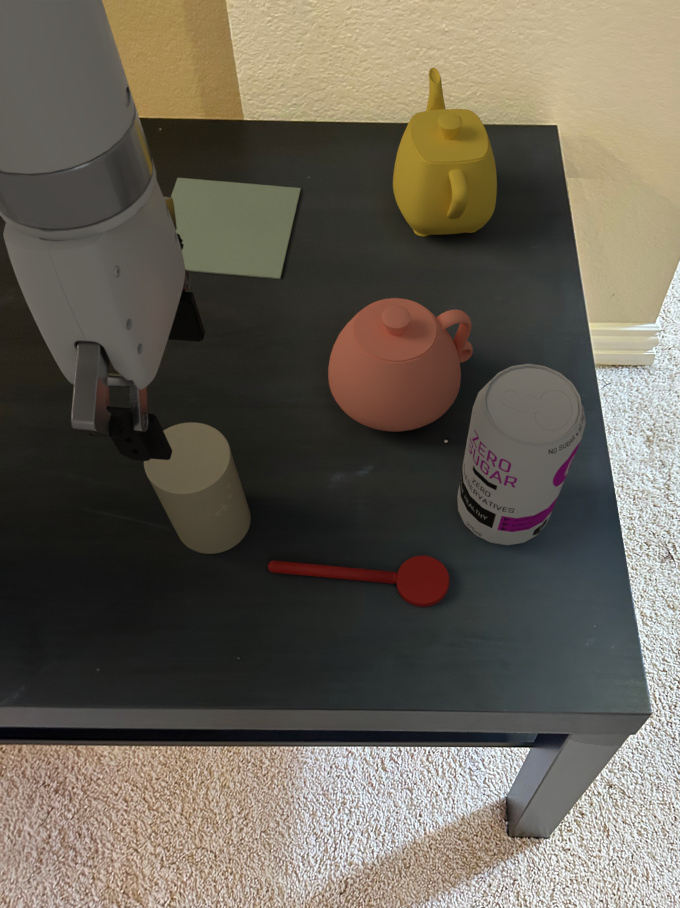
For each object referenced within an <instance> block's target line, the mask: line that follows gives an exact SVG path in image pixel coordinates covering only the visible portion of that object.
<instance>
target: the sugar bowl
mask: <svg viewBox="0 0 680 908" xmlns="http://www.w3.org/2000/svg"><path fill="white" fill-rule="evenodd" d="M457 324H459V325H458V328H457V330H456V332H455V334H454V337H453V338H452V336H451V334H450V333H449V331H448V328H450V327H451V326H454V325H457ZM472 326H473V325H472V320H471V317H470V316H469V315H468V313H466V312H465V311H463V310H461V309H449V310H446V311H444V312H442V313H440V314H439V315H437V316H436V315H434V313H433V312H431V311H430V310H429V309H428V308H426V307H425V306H423V304H420V303H419V302H417V301H414V300H410V299H407V298H400V297H390V298H383V299H380V300H377V301H373V302H371V303H370V304H368V305H366V306H364V307H363V308H362V309H361V310H359V311H357V313H356V314H355V315H353V316H352V318H351V319H350V320H349V321H348V322H347V323H346V324H345V326H344V327H343V328H342V330H341V331H340V332H339V334H338V336H337V337H336V340H335V342H334V344H333V346H332V349H331V352H330V356H329V363H328V367H327V368H328V369H327V372H328V373H327V376H328V385H329V389H330V393H331V395H332V397H333V399H334V401H335V403H337V405H338V407H340V409H341V410H342V411H343V413H345V414H346V415H347V416H348V417H350V418H351V419H352V420H353V421H356V422H357V423H359V424H361V425H363V426H365V427H368V428H370V429H373V430H376V431H377V430H378V431H383V432H393V433H394V432H396V433H397V432H406V431H412V430H417V429H420V428H423V427H425V426H427V425H429V424H432V423H433V422H435V421H437V420H438V419H440V418H441V417H442V416H443V415H445V414H446V412H447V411H448V410H450V407H452V405H453V404H454V402H455V400H456V399H457V397H458V395H459V392H460V388H461V381H462V380H461V379H462V371H461V370H462V369H461V364H463V363H465V362H466V361H468V360H469V359H471V357H472V355H473V353H474V348H473V345H472V343H471V342H470V341H468V340H469V338H470V334H471V332H472Z"/></svg>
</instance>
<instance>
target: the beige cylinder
mask: <svg viewBox="0 0 680 908" xmlns="http://www.w3.org/2000/svg"><path fill="white" fill-rule="evenodd" d="M163 432H164V434H165V436H166V438H167V440H168V442H169V444H170V447H171V449H172V455H171V458H170V459H169V460H160V459H150V460H149V461H143V468H144V471H145V474H146V476H147V479H148V480H149V482H150V484H151V486H152V488H153V490H154V492H155V494H156V496H157V497H158V499H159V502H160V503H161V505H162V507H163V509H164V511H165V513H166V515H167V517H168V519H169V521H170V523H171V525H172V528H174V530H175V532H176V534H177V536H178V538H179V540H180V542H181V543H182V544H184V546H186V547H187V548H188V549H190V550H191V551H193V552H195V553H199V554H205V555H213V554H215V555H216V554H219V553H220V554H221V553H224V552H226V551H229V550H231V549H232V548H234V547H235V546H237V545H238V544H240V543H241V542H242V540H243V539H244V538H245V536H246V535H247V533H248V531H249V529H250V526H251V522H252V521H251V520H252V517H251V516H252V515H251V510H250V508H249V504H248V501H247V498H246V495H245V494H246V493H245V491H244V489H243V485H242V482H241V479H240V476H239V472H238V469H237V466H236V463H235V460H234V456H233V453H232V450H231V447H230V444H229V442H228V440H227V438H226V437H225V435H224V434H222V432H221V431H219V430H218V429H216V428H215V427H213V426H212V425H209V424H206V423H202V422H192V421H191V422H182V423H177V424H174V425H171V426H169V427H167V428H166V429H163Z"/></svg>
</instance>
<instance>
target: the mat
mask: <svg viewBox="0 0 680 908" xmlns="http://www.w3.org/2000/svg"><path fill="white" fill-rule="evenodd" d="M301 190H302V189H301V187H292V186H281V185H270V184H257V183H247V182H245V183H244V182H235V181H221V180H209V179H199V178H188V177H187V178H186V177H177V178H176V181H175V184H174V187H173V189H172V193H171V195H170V197H172V199H173V202H174V209H175V217H176V226H177V229H176V233H177V234H179V235H180V237H181V239H182V240H183V241H182V244H183V249H182V254H183V258H184V263H185V269H186V270H188V271H189V273H190V272H192V273H202V274H213V275H214V274H215V275H225V276H226V275H227V276H236V277H237V276H238V277H249V278H259V279H261V278H262V279H273V280H281V278H282V275H283V270H284V265H285V261H286V255H287V252H288V247H289V243H290V239H291V234H292V230H293V226H294V222H295V221H294V220H295V216H296V212H297V208H298V204H299V199H300V195H301Z"/></svg>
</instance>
